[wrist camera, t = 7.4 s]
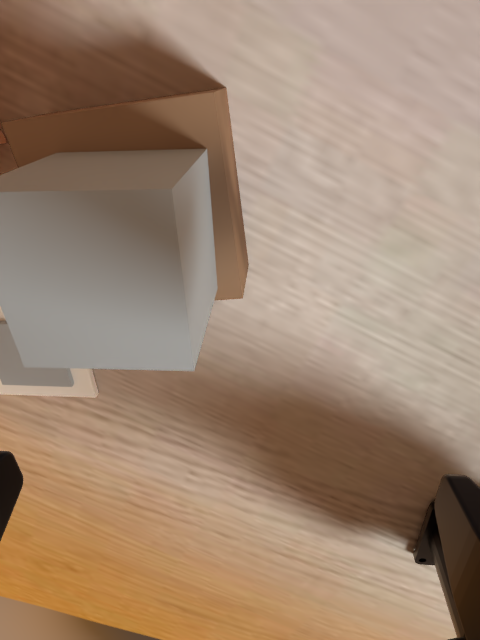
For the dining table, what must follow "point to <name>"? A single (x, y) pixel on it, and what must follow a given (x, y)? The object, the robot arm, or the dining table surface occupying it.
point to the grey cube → (108, 259)
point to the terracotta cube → (2, 138)
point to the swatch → (39, 374)
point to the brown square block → (155, 134)
